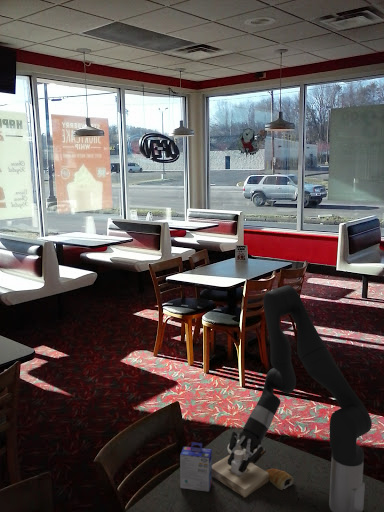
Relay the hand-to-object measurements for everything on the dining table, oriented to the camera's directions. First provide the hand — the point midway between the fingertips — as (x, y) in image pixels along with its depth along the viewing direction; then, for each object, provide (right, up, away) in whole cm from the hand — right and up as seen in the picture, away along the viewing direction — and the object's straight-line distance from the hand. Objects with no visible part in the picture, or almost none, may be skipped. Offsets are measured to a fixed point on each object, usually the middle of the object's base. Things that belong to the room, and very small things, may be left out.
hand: (235, 468), depth 165 cm
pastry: (+15, -5, 0) cm, 16 cm away
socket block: (+1, -4, +2) cm, 5 cm away
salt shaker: (+1, -4, +2) cm, 5 cm away
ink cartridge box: (-13, -5, -1) cm, 14 cm away
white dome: (+4, -1, +18) cm, 19 cm away
